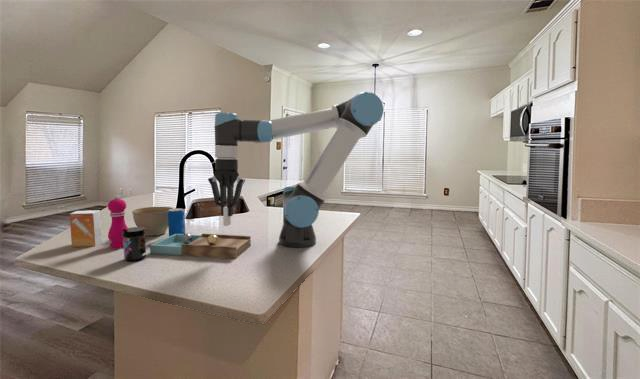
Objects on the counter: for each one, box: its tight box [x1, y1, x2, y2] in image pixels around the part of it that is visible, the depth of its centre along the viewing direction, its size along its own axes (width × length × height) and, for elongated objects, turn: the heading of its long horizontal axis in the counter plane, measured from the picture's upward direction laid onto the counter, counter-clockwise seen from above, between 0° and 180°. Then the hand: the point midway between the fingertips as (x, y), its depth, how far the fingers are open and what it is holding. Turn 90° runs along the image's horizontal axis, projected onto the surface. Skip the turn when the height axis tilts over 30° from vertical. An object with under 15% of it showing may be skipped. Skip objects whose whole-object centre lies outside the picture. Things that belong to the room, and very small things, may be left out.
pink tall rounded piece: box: [107, 194, 129, 250], centre depth 125 cm, size 7×7×20 cm
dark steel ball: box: [181, 233, 192, 244], centre depth 128 cm, size 4×4×4 cm
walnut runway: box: [182, 233, 252, 260], centre depth 122 cm, size 20×15×4 cm
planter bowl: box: [131, 206, 174, 237], centre depth 144 cm, size 16×16×11 cm
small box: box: [69, 209, 103, 248], centre depth 127 cm, size 8×6×13 cm
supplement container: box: [122, 226, 147, 263], centre depth 112 cm, size 7×7×10 cm
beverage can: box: [168, 207, 186, 237], centre depth 139 cm, size 6×6×12 cm
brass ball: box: [207, 235, 219, 246], centre depth 118 cm, size 4×4×4 cm
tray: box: [149, 234, 202, 257], centre depth 125 cm, size 12×16×3 cm
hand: (227, 224), depth 116 cm, fingers closed
